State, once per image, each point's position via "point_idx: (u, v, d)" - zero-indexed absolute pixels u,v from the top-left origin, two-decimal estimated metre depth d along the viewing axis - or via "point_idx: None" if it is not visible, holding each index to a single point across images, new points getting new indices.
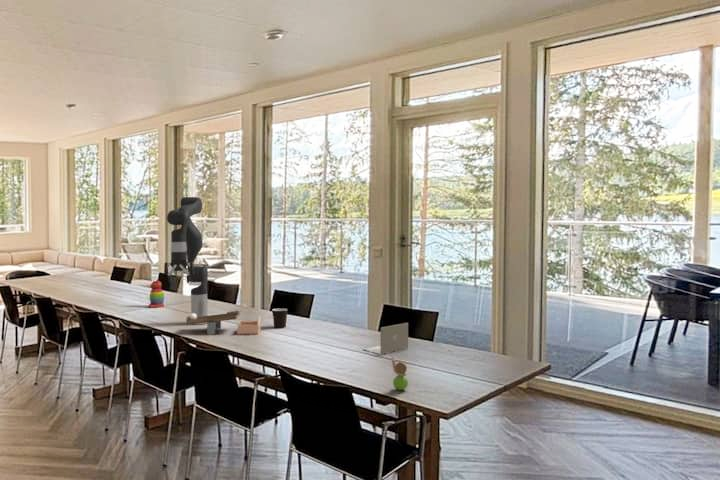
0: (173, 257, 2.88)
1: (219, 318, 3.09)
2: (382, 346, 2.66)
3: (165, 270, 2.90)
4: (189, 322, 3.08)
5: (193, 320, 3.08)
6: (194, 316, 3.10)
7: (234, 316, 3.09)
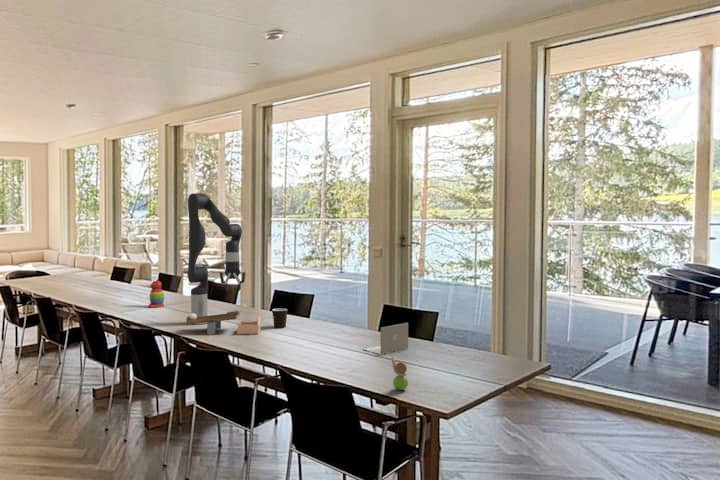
0: (228, 266, 3.15)
1: (219, 318, 3.09)
2: (382, 346, 2.66)
3: (221, 279, 3.17)
4: (189, 322, 3.08)
5: (193, 320, 3.08)
6: (194, 316, 3.10)
7: (234, 316, 3.09)
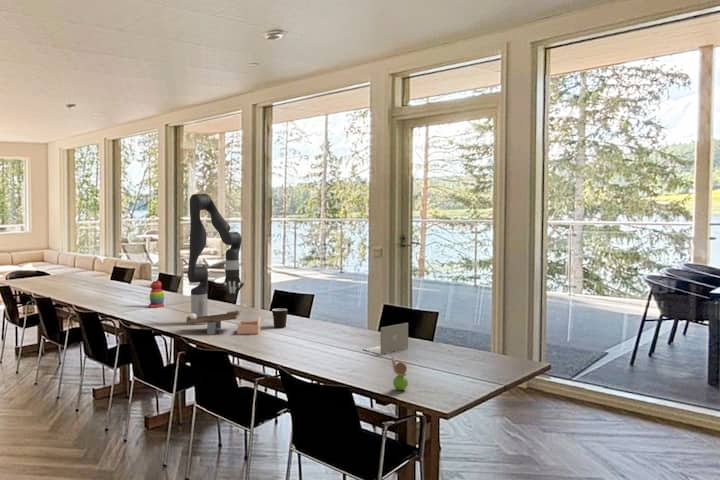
0: (228, 274, 3.15)
1: (219, 318, 3.09)
2: (382, 346, 2.66)
3: (225, 289, 3.18)
4: (189, 322, 3.08)
5: (193, 320, 3.08)
6: (194, 316, 3.10)
7: (234, 316, 3.09)
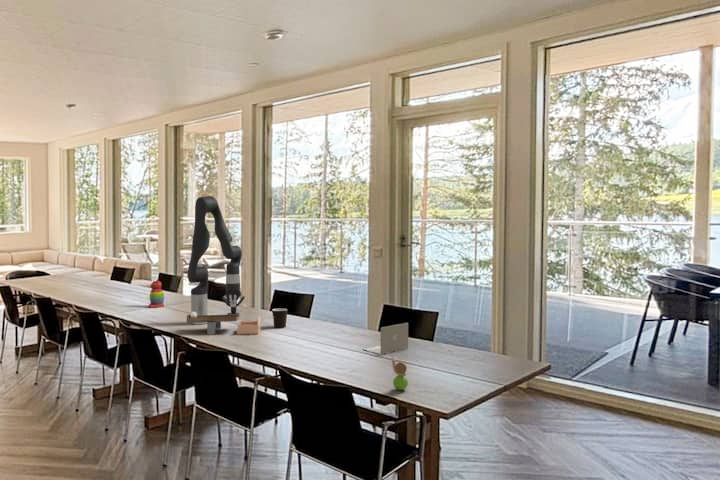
0: (228, 288, 3.16)
1: (219, 319, 3.09)
2: (382, 346, 2.66)
3: (226, 302, 3.18)
4: (189, 320, 3.08)
5: (193, 319, 3.08)
6: (195, 315, 3.10)
7: (234, 318, 3.09)
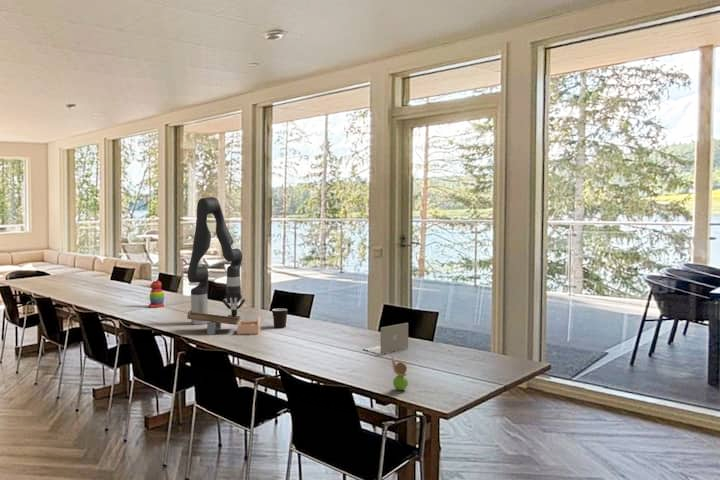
0: (229, 291, 3.16)
1: (220, 320, 3.09)
2: (382, 346, 2.66)
3: (227, 305, 3.18)
4: (190, 317, 3.08)
5: (194, 316, 3.08)
6: None
7: (235, 321, 3.09)
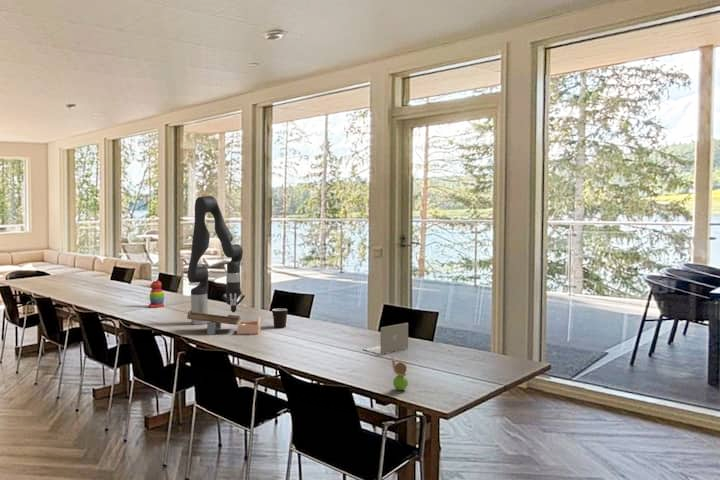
0: (229, 287, 3.16)
1: (220, 320, 3.09)
2: (382, 346, 2.66)
3: (226, 301, 3.18)
4: (190, 317, 3.08)
5: (194, 316, 3.08)
6: None
7: (235, 321, 3.09)
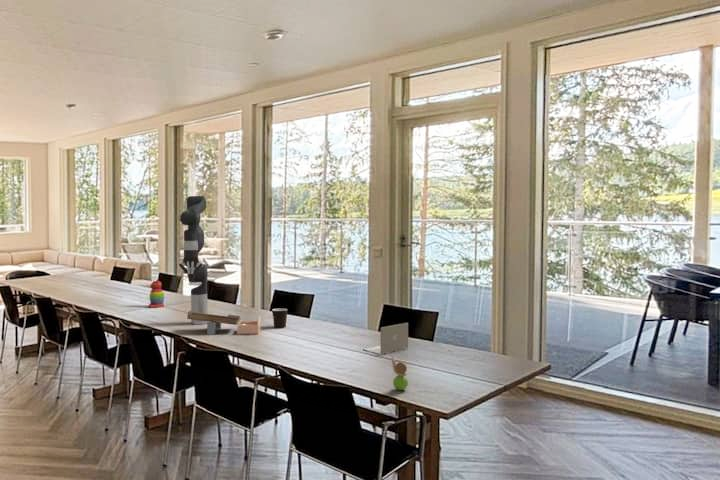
0: (186, 255, 3.13)
1: (220, 320, 3.09)
2: (382, 346, 2.66)
3: (184, 269, 3.15)
4: (190, 317, 3.08)
5: (194, 316, 3.08)
6: None
7: (235, 321, 3.09)
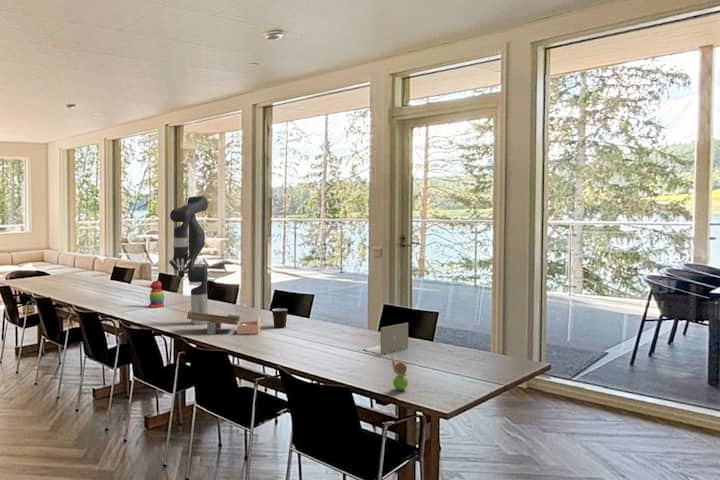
0: (176, 252, 3.12)
1: (220, 320, 3.09)
2: (382, 346, 2.66)
3: (174, 266, 3.15)
4: (190, 317, 3.08)
5: (194, 316, 3.08)
6: None
7: (235, 321, 3.09)
